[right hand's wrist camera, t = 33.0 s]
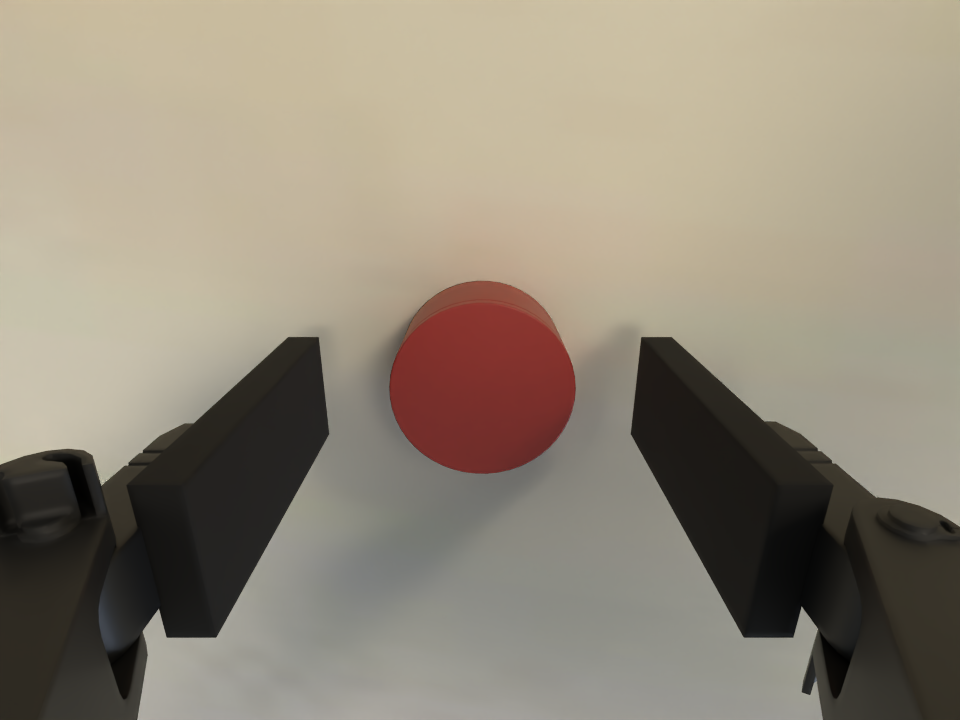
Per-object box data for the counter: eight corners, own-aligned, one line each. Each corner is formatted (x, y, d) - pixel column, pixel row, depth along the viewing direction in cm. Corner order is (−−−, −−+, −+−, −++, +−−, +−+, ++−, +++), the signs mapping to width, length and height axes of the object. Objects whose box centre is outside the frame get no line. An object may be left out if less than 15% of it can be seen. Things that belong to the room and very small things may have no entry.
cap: (590, 325, 15) (611, 355, 13) (514, 451, 17) (520, 499, 14) (444, 251, 15) (437, 268, 12) (378, 390, 16) (360, 430, 14)
